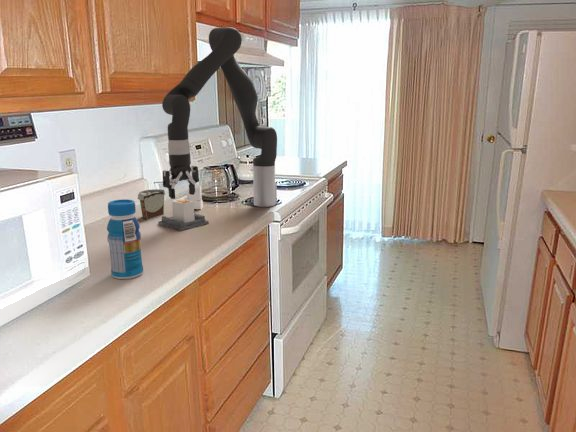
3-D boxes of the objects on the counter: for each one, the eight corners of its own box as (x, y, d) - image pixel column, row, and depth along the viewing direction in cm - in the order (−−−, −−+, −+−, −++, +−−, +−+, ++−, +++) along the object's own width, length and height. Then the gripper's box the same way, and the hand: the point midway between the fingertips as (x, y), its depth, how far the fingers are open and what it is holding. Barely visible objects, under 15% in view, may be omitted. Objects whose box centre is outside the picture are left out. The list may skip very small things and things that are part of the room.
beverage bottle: (106, 280, 126) (99, 205, 121) (116, 268, 135) (109, 198, 130) (139, 280, 127) (133, 205, 122) (147, 268, 135) (141, 198, 130)
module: (182, 217, 183) (181, 198, 181) (194, 220, 179) (193, 201, 177) (173, 219, 180) (171, 200, 178) (184, 222, 176) (183, 203, 174)
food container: (154, 212, 197) (153, 188, 194) (166, 213, 194) (164, 189, 192) (132, 219, 186) (130, 193, 184) (144, 221, 184) (142, 195, 181)
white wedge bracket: (211, 204, 200) (199, 186, 198) (191, 215, 202) (179, 197, 200) (213, 202, 203) (202, 184, 202) (193, 213, 205) (182, 195, 204)
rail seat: (187, 217, 189) (186, 210, 188) (208, 223, 180) (208, 215, 179) (158, 224, 179) (157, 216, 178) (179, 230, 171) (179, 222, 170)
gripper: (189, 149, 181) (191, 191, 185) (156, 153, 170) (159, 198, 175) (201, 150, 176) (204, 194, 180) (168, 155, 165) (172, 201, 170)
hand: (182, 196), depth 177 cm, fingers open, 8 cm apart
